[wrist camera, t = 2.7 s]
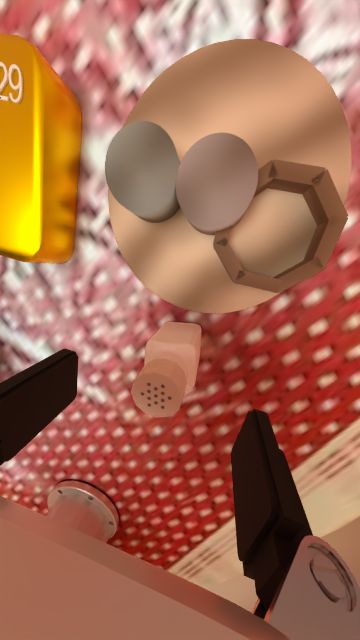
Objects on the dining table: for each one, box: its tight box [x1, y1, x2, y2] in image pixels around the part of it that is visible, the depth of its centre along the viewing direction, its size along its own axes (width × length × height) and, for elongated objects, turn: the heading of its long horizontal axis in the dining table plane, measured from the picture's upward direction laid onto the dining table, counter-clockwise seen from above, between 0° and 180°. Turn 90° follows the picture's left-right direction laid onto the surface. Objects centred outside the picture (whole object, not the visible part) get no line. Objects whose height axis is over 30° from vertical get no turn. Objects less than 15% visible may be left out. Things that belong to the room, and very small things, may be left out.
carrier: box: [105, 39, 351, 313], centre depth 14 cm, size 18×18×5 cm
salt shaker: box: [131, 321, 202, 417], centre depth 15 cm, size 4×4×10 cm
